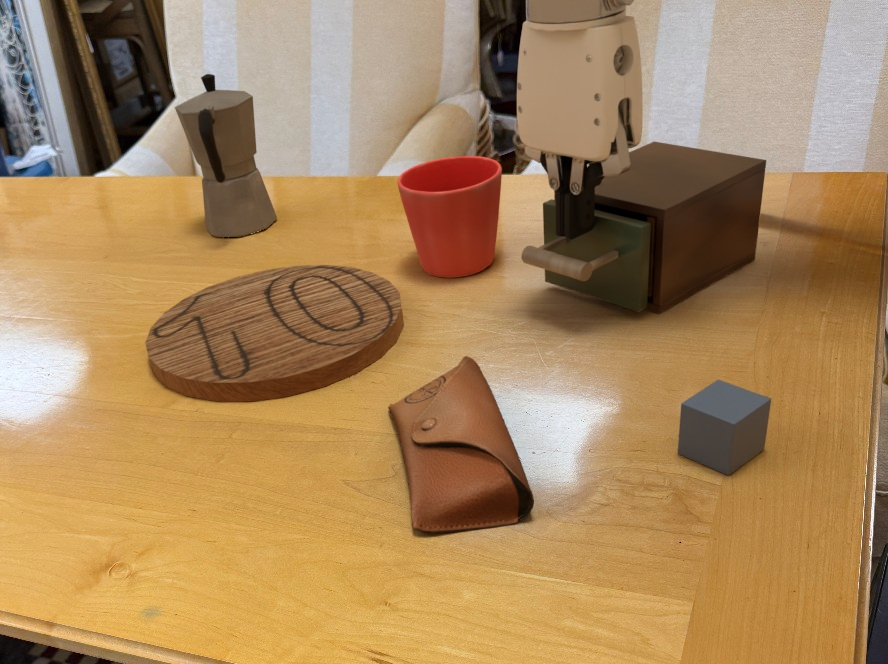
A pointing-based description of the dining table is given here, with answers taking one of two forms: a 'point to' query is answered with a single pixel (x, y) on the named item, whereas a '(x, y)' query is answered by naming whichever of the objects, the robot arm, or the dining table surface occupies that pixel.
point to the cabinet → (691, 213)
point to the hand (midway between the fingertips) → (575, 232)
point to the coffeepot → (227, 160)
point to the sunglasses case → (460, 455)
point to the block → (723, 426)
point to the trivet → (275, 333)
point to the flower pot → (453, 213)
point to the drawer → (601, 256)
